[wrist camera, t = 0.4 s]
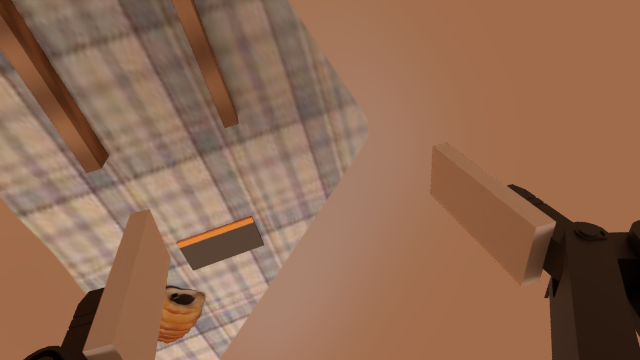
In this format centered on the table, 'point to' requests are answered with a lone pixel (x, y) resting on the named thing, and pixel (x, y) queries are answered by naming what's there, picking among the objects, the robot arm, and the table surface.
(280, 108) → the table surface
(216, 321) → the table surface
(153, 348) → the robot arm
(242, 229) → the pad
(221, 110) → the lane
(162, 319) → the pastry
